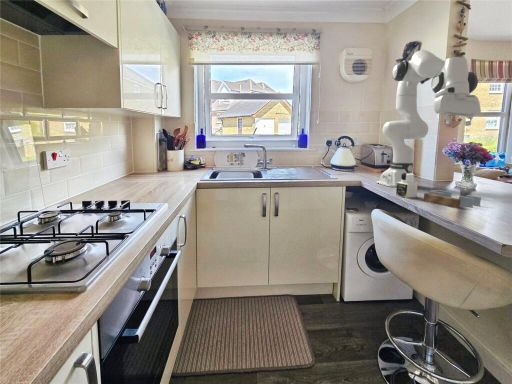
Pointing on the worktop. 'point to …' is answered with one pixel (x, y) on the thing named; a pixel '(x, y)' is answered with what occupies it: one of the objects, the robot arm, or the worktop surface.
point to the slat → (442, 200)
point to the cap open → (470, 201)
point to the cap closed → (441, 193)
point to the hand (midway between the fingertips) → (458, 124)
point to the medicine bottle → (407, 186)
